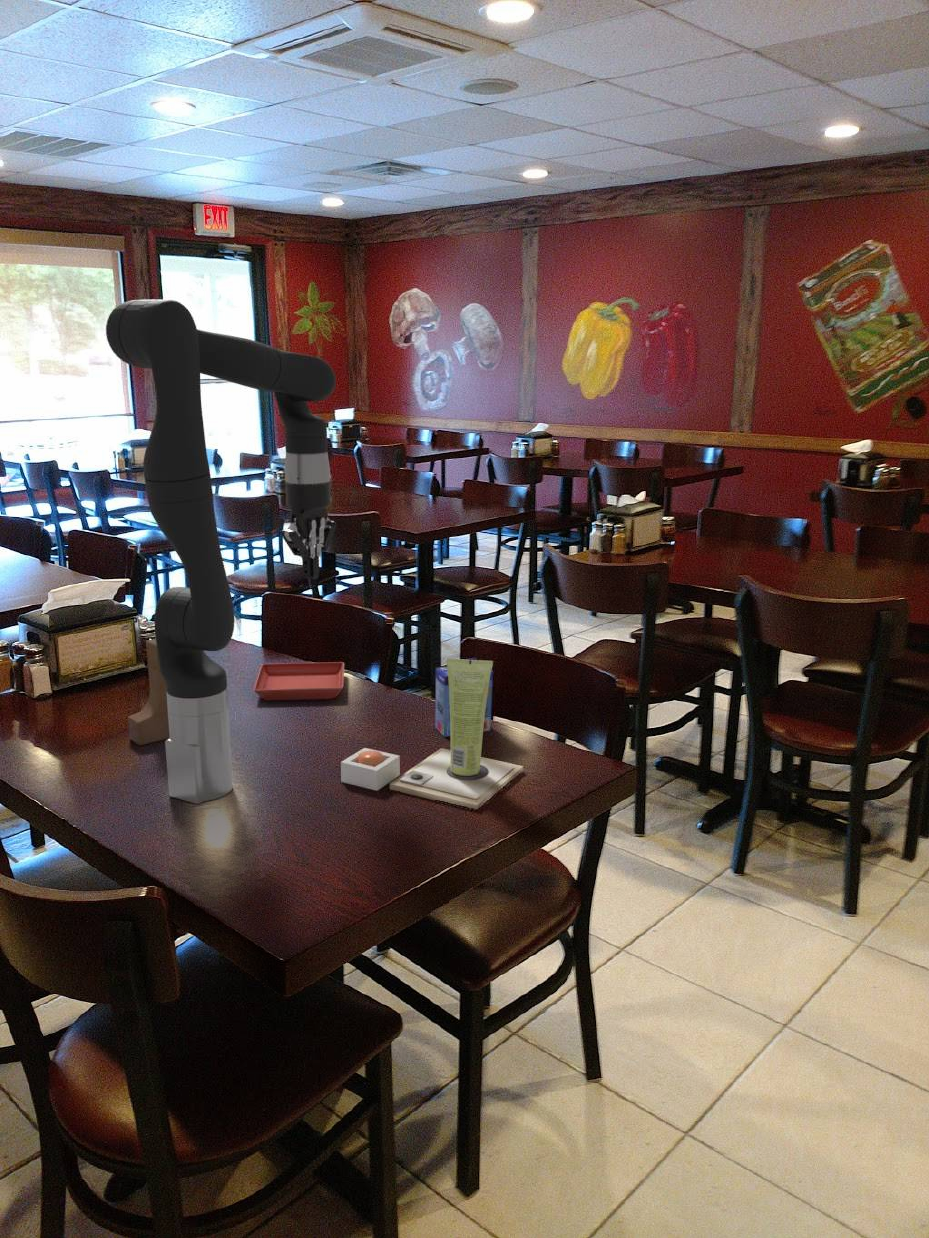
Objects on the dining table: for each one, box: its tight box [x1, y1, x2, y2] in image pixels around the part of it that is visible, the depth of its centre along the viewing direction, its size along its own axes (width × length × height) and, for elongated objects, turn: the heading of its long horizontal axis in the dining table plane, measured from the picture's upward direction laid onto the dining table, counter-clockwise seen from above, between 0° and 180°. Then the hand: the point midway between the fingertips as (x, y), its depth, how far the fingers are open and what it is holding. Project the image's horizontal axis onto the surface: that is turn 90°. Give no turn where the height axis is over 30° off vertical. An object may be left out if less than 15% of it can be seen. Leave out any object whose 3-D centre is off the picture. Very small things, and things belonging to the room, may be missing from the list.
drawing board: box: [389, 747, 524, 809], centre depth 161 cm, size 17×16×2 cm
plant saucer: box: [253, 661, 345, 701], centre depth 205 cm, size 18×18×3 cm
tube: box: [446, 657, 494, 776], centre depth 159 cm, size 6×5×20 cm
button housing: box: [340, 747, 401, 791], centre depth 161 cm, size 7×7×4 cm
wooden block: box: [127, 638, 170, 746], centre depth 176 cm, size 9×4×18 cm, turn 132°
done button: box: [358, 750, 383, 767], centre depth 161 cm, size 4×4×4 cm
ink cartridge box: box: [434, 657, 494, 738], centre depth 182 cm, size 10×6×14 cm, turn 113°
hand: (311, 578), depth 170 cm, fingers closed
